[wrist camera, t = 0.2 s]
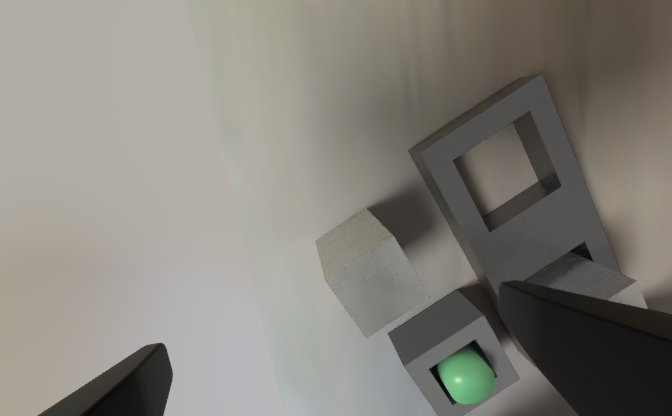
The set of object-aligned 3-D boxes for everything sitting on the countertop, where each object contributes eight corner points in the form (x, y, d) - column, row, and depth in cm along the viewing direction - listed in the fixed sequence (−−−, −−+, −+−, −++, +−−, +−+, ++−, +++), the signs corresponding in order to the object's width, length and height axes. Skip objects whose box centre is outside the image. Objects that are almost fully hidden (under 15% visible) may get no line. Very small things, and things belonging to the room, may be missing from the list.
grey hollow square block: (490, 346, 26) (520, 378, 23) (425, 388, 26) (445, 426, 23) (456, 289, 24) (483, 315, 21) (387, 333, 24) (403, 366, 21)
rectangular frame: (608, 291, 26) (633, 304, 24) (517, 350, 26) (535, 367, 24) (519, 78, 21) (541, 73, 20) (408, 150, 22) (419, 152, 20)
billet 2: (574, 285, 26) (656, 330, 20) (530, 313, 26) (600, 366, 20) (555, 245, 25) (637, 280, 19) (510, 274, 25) (577, 318, 19)
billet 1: (395, 254, 23) (430, 296, 17) (346, 286, 23) (366, 338, 17) (366, 208, 22) (393, 236, 16) (315, 241, 22) (325, 280, 16)
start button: (480, 360, 24) (501, 387, 21) (444, 383, 24) (462, 412, 21) (462, 331, 23) (482, 354, 20) (425, 354, 23) (441, 380, 20)
